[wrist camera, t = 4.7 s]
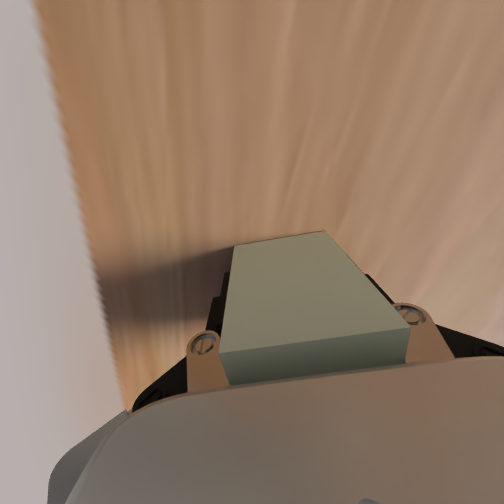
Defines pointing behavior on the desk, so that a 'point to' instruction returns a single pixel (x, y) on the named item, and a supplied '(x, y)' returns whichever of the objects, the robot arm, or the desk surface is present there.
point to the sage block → (304, 313)
